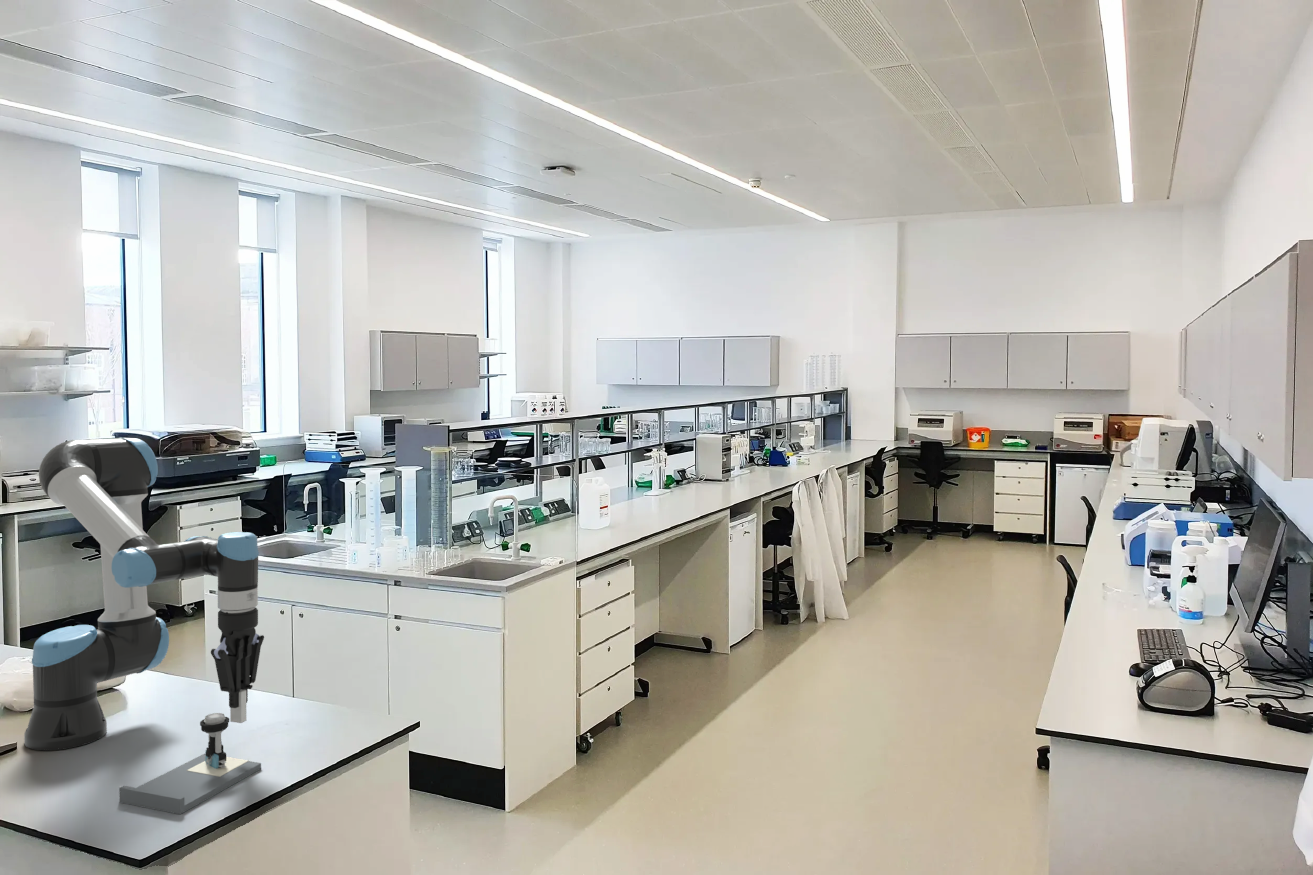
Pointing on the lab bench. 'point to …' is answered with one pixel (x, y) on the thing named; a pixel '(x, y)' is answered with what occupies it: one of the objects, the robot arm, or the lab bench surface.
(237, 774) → the grey lipped board
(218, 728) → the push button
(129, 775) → the lab bench surface
